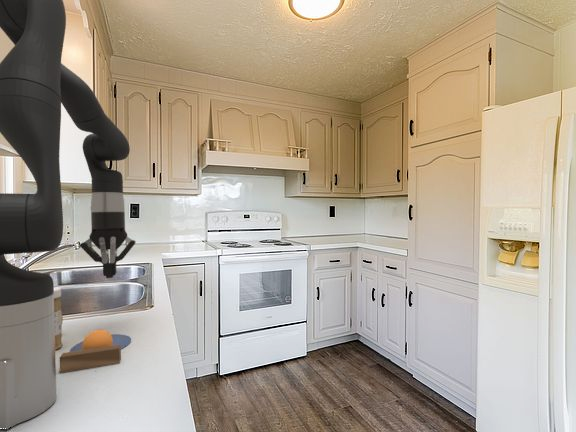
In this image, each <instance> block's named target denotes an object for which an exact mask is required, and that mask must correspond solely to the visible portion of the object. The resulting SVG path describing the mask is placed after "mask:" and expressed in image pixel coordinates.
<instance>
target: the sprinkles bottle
mask: <svg viewBox="0 0 576 432" xmlns="http://www.w3.org/2000/svg"><path fill="white" fill-rule="evenodd" d="M53 293H54V326H55V351H57V350H59V349H60V348H62V346H63V343H62V332H63V331H62V324H63V323H62V324H61V313H62V307H61V298H62V297H61V296H62V289H61V287H57V286H54V292H53Z"/></svg>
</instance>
